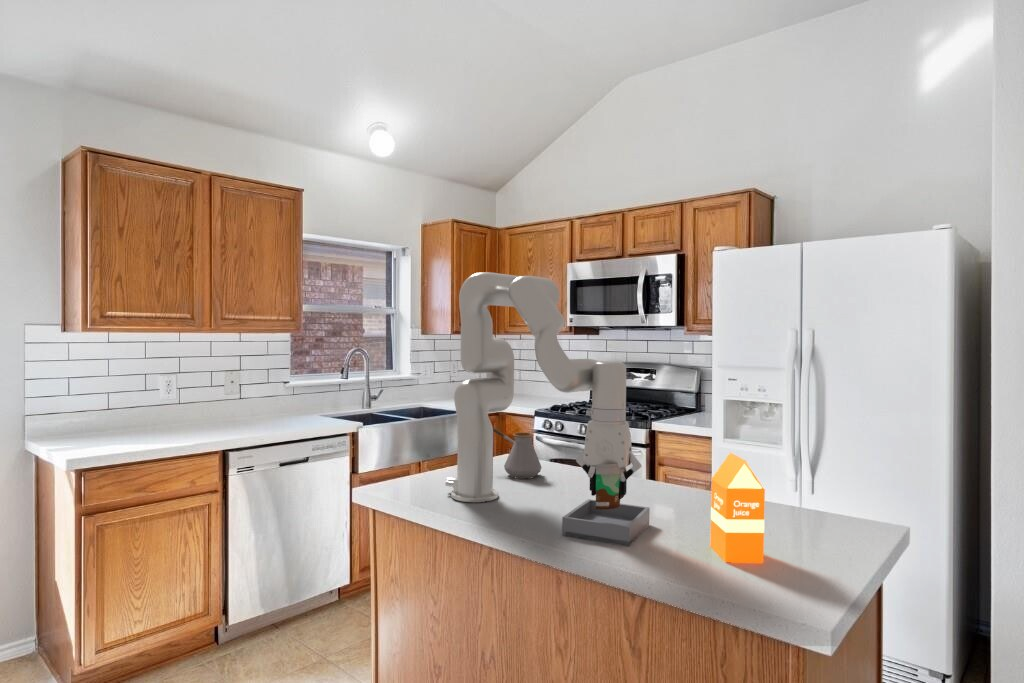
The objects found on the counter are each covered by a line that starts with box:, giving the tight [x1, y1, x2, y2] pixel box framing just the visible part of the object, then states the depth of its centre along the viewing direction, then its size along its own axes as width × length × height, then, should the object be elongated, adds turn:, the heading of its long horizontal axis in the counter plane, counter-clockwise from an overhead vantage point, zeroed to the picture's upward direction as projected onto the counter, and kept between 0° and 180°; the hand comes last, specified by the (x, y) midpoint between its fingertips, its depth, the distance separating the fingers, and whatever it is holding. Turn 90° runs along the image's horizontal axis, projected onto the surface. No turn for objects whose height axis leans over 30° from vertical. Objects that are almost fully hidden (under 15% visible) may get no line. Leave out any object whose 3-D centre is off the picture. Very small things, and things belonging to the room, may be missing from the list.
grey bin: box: [561, 498, 651, 547], centre depth 143 cm, size 15×17×4 cm
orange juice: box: [709, 452, 766, 564], centre depth 128 cm, size 8×9×20 cm
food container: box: [595, 464, 626, 510], centre depth 143 cm, size 12×6×10 cm, turn 168°
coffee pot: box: [493, 427, 542, 479], centre depth 198 cm, size 21×12×15 cm, turn 55°
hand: (607, 495), depth 143 cm, fingers closed on food container, 5 cm apart
